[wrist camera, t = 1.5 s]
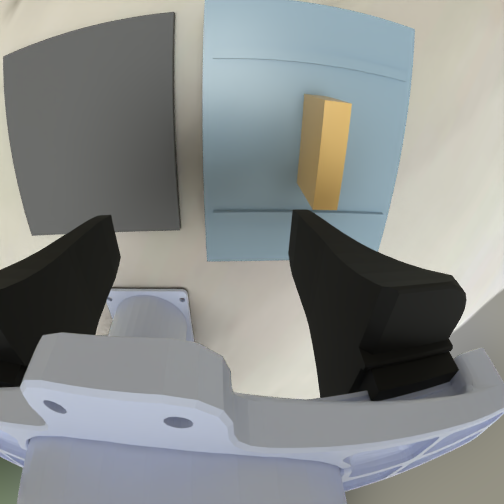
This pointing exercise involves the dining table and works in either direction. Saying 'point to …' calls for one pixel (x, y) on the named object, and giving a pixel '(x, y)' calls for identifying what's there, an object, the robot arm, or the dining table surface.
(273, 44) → the lid
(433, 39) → the dining table surface
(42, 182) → the mat
